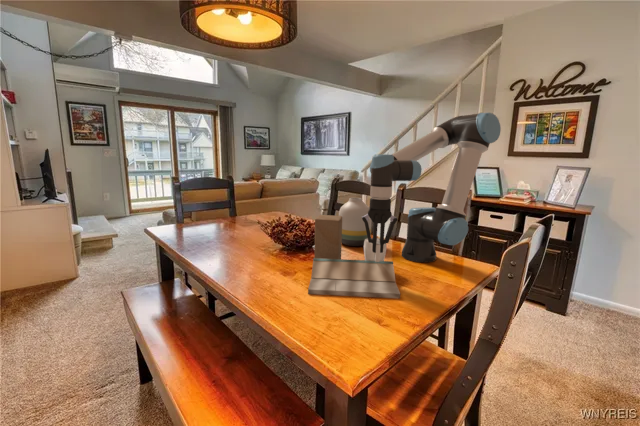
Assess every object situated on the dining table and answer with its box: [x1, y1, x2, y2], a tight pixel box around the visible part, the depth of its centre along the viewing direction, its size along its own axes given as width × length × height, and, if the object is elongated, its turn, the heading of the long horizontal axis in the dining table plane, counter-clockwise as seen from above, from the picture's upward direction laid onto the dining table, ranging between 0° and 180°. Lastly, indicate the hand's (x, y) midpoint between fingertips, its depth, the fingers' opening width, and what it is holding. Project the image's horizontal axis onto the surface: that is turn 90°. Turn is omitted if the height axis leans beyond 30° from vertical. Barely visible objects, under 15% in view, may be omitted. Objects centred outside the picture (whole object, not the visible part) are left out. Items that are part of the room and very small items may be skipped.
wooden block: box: [313, 214, 343, 259], centre depth 129 cm, size 10×10×20 cm
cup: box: [363, 237, 387, 261], centre depth 124 cm, size 9×9×12 cm
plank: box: [310, 257, 396, 283], centre depth 113 cm, size 30×9×2 cm
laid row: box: [307, 278, 401, 299], centre depth 105 cm, size 30×9×2 cm, turn 85°
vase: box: [338, 197, 372, 247], centre depth 158 cm, size 17×17×24 cm
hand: (377, 260), depth 114 cm, fingers closed
